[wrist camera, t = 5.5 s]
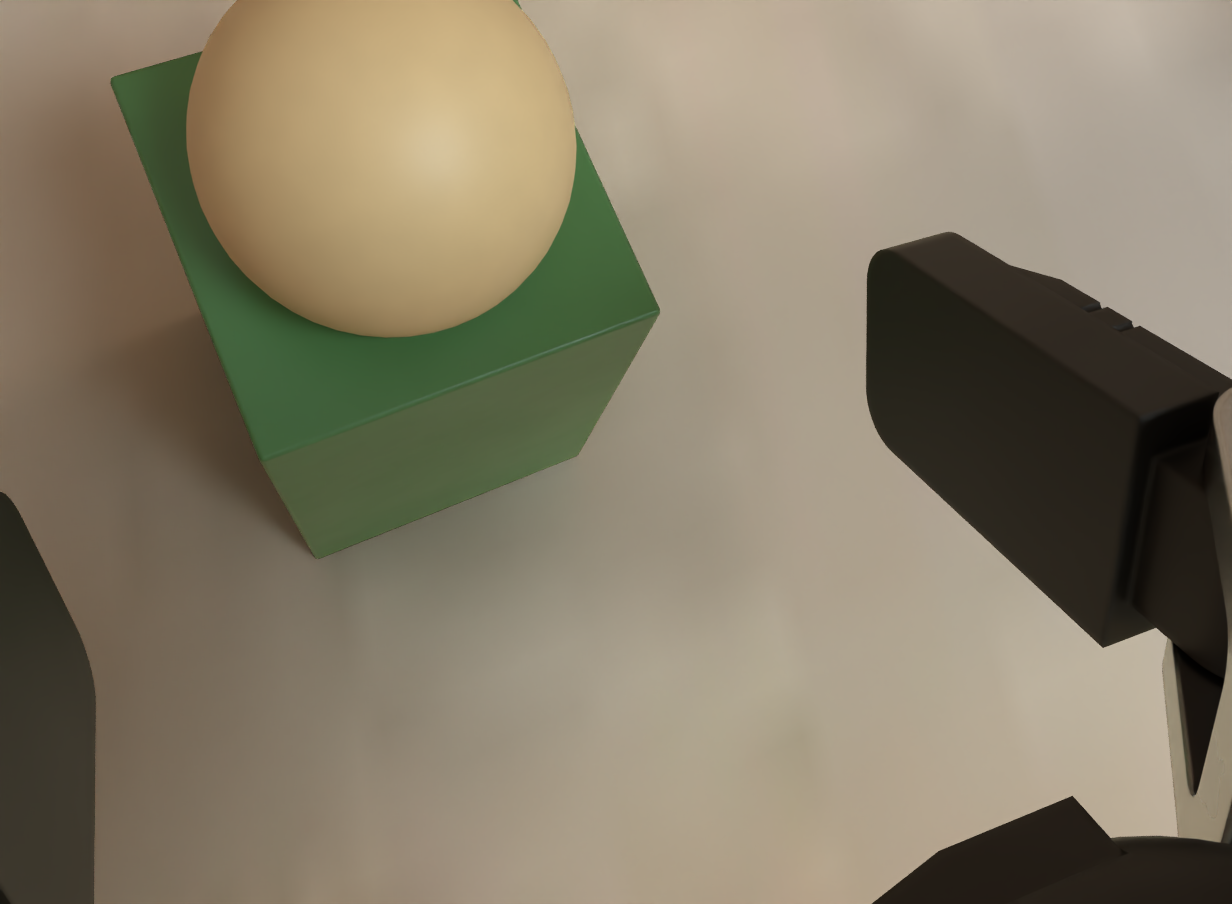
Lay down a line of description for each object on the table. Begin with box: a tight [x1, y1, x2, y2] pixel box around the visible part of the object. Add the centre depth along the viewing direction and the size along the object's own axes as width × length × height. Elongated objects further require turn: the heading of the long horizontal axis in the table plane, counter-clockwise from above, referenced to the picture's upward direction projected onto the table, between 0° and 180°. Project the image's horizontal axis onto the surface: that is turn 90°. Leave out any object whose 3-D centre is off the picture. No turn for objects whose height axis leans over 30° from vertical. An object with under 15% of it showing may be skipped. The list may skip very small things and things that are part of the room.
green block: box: [110, 0, 660, 559], centre depth 15 cm, size 5×5×10 cm
